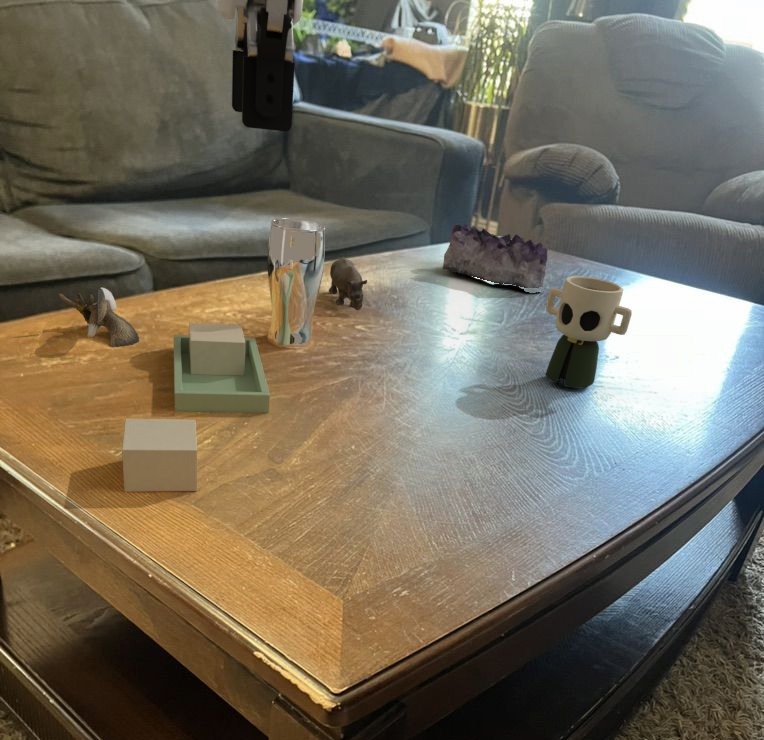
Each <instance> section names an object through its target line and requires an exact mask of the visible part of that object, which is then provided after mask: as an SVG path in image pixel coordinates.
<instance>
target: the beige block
mask: <svg viewBox="0 0 764 740" xmlns="http://www.w3.org/2000/svg"><path fill="white" fill-rule="evenodd" d="M188 324H189V325H188V331H189V334H188V336H189V355H190V372H191V374H198V375H233V376H244V371H245V339H244V338H245V336H244V335H245V334H244V331H243V327H242V325H241V324H226V323H202V322H201V323H200V322H189V323H188Z"/></svg>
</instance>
